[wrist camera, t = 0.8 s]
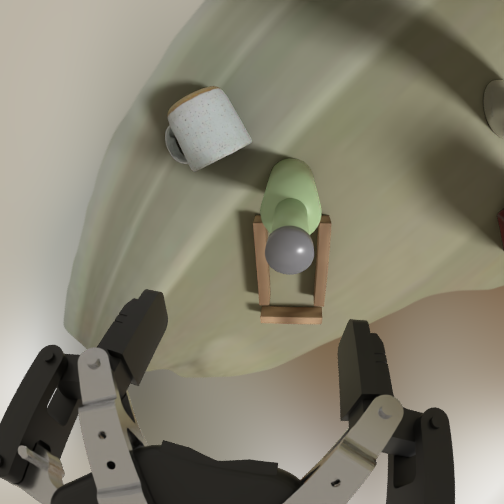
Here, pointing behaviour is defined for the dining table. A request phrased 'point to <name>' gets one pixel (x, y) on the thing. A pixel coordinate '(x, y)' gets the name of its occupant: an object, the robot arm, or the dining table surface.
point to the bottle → (290, 216)
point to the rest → (322, 257)
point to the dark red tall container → (501, 224)
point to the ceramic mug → (204, 128)
